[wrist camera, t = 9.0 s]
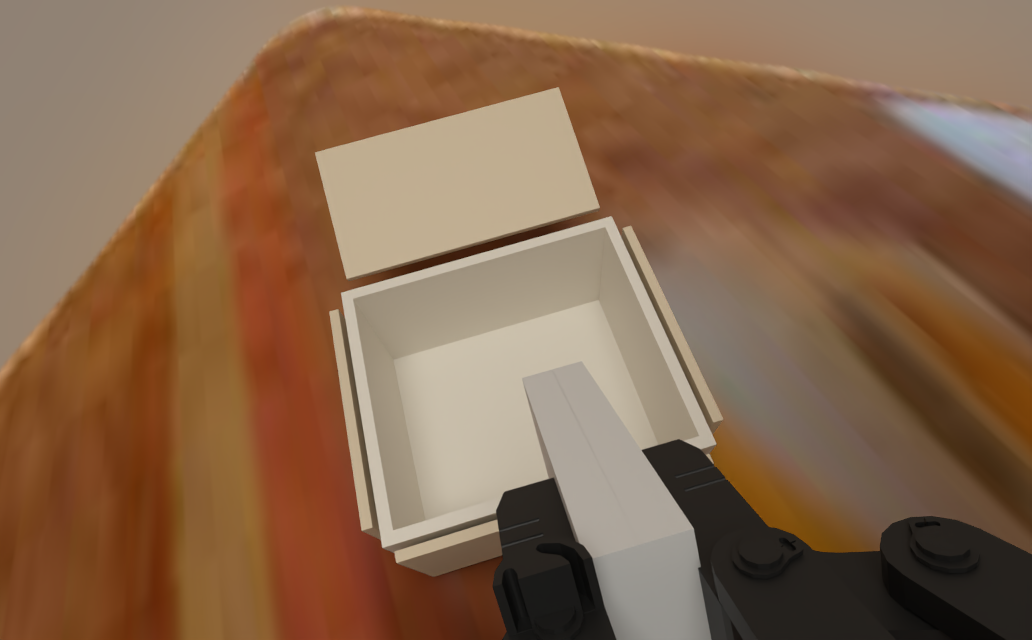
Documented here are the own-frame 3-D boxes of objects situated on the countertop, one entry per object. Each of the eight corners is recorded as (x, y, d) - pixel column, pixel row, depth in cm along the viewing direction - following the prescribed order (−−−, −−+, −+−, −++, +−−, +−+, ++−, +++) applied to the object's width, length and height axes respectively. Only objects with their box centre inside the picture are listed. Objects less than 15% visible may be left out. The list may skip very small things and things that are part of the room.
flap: (598, 210, 34) (557, 92, 36) (599, 207, 34) (558, 87, 35) (349, 281, 33) (317, 156, 35) (346, 278, 33) (315, 152, 34)
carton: (614, 291, 42) (624, 212, 34) (701, 494, 35) (740, 455, 27) (374, 361, 41) (327, 296, 33) (415, 584, 34) (367, 571, 26)
